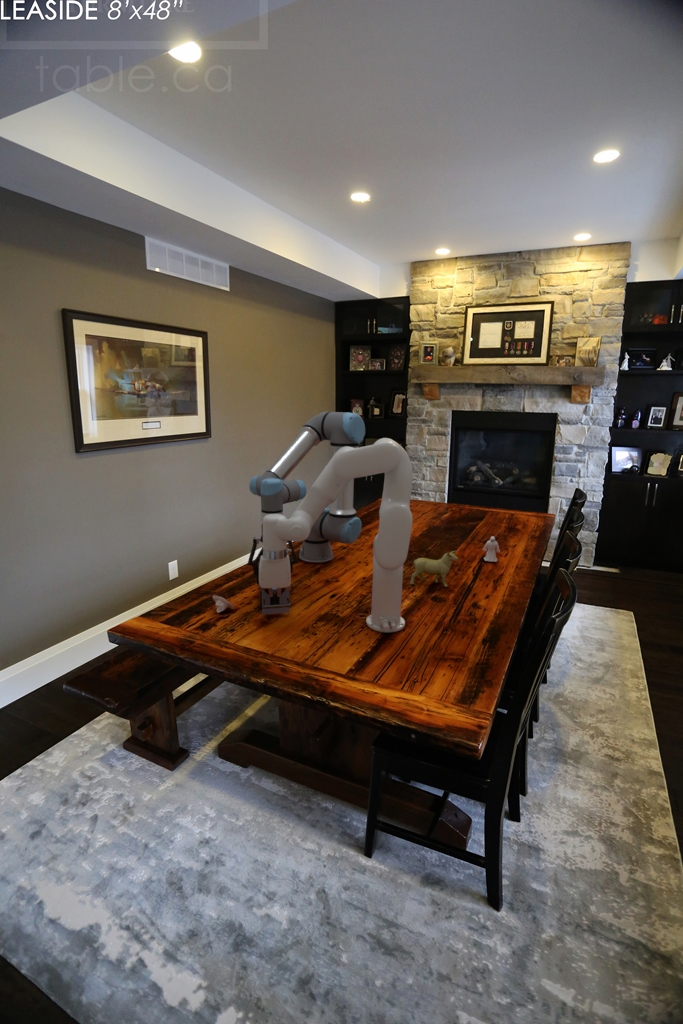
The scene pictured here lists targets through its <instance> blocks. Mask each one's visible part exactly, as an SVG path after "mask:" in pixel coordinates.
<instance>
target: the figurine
mask: <svg viewBox="0 0 683 1024" xmlns="http://www.w3.org/2000/svg"><path fill="white" fill-rule="evenodd" d="M482 551H483V552H486V554H485V556H484V557H483V560H484V561H485V562H495V563H498V558H497V554H496V553H498V554H499V553H501V550H500V547H499V543H498V541H497V540H496V538H495V536H493V535H492V536H490V539H489V540H487V542H486V543H485V544H484V546H483V548H482Z"/></svg>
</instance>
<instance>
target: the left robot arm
mask: <svg viewBox="0 0 683 1024" xmlns="http://www.w3.org/2000/svg"><path fill="white" fill-rule="evenodd" d="M365 425H366V424H365V422H364V419H363V418H362V417H361V416H360V414H358V413H354V412H350V411H349V412H345V411H344V412H343V411H341V412H340V411H322V412H320V413H318V414H316V415H315V416H312V417H311V418H310V419H309V420H308V421H306V422H305V423H304V424H303V425H302V427H300V429H299V430H298V431H299V433H298V434H297V435H296V437H295V438H294V439H293V440H292V441H291V442H290V443H289V445H288V446H287V447H286V448H285V449H284V450H283V451H282V453H281V454H280V455H279V456H278V457H277V458H276V459H275V460H274V462H272V464H271V465H270V466H269V467H268V468H267V469H266V470H265V472H263V474H261V475H254V476H253V477H251V478H250V481H249V484H248V485H249V487H248V488H249V491H250V492H251V494H252V495H254V496H257V497H260V515H261V517H260V518H261V519H260V520H261V521H260V522H261V536H260V537H256V536H254V537H252V546H251V549H250V553H249V557H248V560H247V565H248V566H251V567H252V568H253V569H252V570H253V571H252V572H253V575H254V576H256V585H259V563H260V557H261V556H262V555H263V546H262V547H261V548H260V550H259V552H258V554H257V556H256V557H255V554H256V550H257V546H258V545H259V544H260V542H261V543H262V544H263V518H264V516H266V515H269V514H281V515H284V505H285V504H290V503H294V502H298V501H300V500H303V499H304V498H305V497H306V495H307V486H306V484H305V482H304V481H303V480H301V479H293V480H286V479H287V478H288V477H289V475H290V474H291V473H292V472H293V470H294V469H295V468H296V467H297V466H298V465H299V464H300V463H301V461H302V460H304V458H305V456H306V455H307V454H309V452H310V451H311V450H312V449H313V447H317V446H318V445H319V444H320V443H321V442H323V441H329V446H330V448H332V450H333V455H334V454H335V453H336V452H337V451H338V450H339V449H340V448H342V447H345V446H349V447H353V448H360V446H359V445H360V444H361V443H362V442H363V441H364V438H365V435H366V426H365ZM354 485H355V478H352V479H351V480H350V481H349V483H348V484H347V486H346V487H345V488H344V490H343V491H342V492H341V494H340V495H339V497H338V498H337V499H336V500H335V501H334V502H333V503H332V506H331V508H330V507H329V506H327V507H326V508H325V510H324V511H323V512H322V513H321V515H320V516H319V517H318V519H317V520H316V522H315V523H314V524H313V526H312V528H311V531H310V534H309V536H308V538H307V539H306V540H304V541H302V544H301V546H300V548H299V552H298V553H299V554H298V558H297V554H296V552H295V549H294V545H293V541H290V540H287V545H288V547H289V549H291V553H290V554H291V556H290V555H289V554H288V556H289V560H290V570H291V574H293V572H294V570H293V565H295V564H298V562H299V561H300V562H303V563H304V564H308V565H309V564H311V565H323V564H328V563H331V562H332V561H333V560H334V552H333V548H332V545H331V542H330V541H332V542H336V543H340V544H346V545H350V544H353V543H354V542H355V541H356V540H357V539H358V538H359V537H360V535H361V534H360V533H361V532H362V526H363V525H362V524H363V523H362V521H361V519H360V518H359V516H358V517H357V510H356V509H355V508H354V489H355V488H354ZM254 557H255V558H254ZM291 557H292V558H291ZM298 560H299V561H298Z"/></svg>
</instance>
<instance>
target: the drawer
mask: <svg viewBox="0 0 683 1024" xmlns="http://www.w3.org/2000/svg"><path fill="white" fill-rule="evenodd" d="M272 590H273V592H274V595H275V593H276V591H277V588H272ZM291 607H292V604H291V602H290V590H287V591H284V592H283V593H282V594H281V596H280V604H270V596H269V595H268V594H267V593H266V592H265V591H262V607H261V609H262V611H261V613H262V615H275V614H288V613H289V614H290V611H291V610H290V608H291Z"/></svg>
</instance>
